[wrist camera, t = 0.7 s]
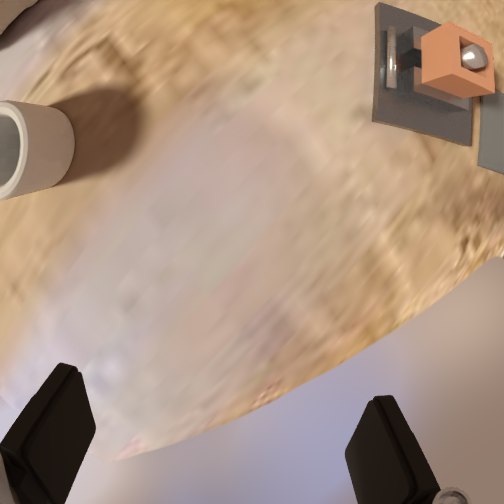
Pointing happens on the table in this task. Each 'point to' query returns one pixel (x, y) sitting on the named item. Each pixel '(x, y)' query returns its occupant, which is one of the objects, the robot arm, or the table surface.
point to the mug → (32, 147)
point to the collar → (455, 62)
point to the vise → (416, 80)
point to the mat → (492, 132)
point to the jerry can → (12, 10)
